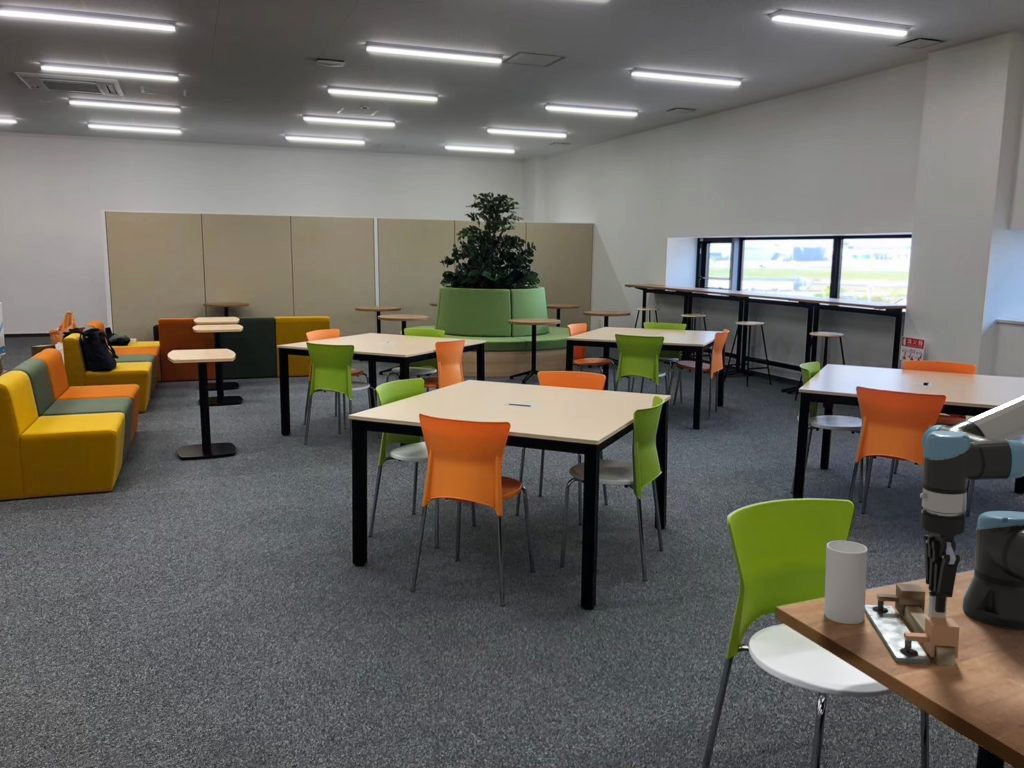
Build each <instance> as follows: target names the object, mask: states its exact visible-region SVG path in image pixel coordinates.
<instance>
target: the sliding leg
mask: <svg viewBox="0 0 1024 768" xmlns="http://www.w3.org/2000/svg"><path fill="white" fill-rule="evenodd" d="M904 638H905V649H908V650H910V649H911V646H912V641H917V642H921V643H922V642H924V645H923V648H924V650H925V651H926V652H927V654H928V655H929V656H930V658H933V657H934V652H935V646H952V647H953V648H954V650H955V651H956V655H955V660H956V659H958V658H959V640H960V626H959V625H958V624H957V623H956V622H955V620H954V619H953V618H951V617H949V618H948V617H946V618H935V617H926V619H925V633H914V632H911V633H908V632H904Z"/></svg>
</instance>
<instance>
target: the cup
mask: <svg viewBox="0 0 1024 768" xmlns="http://www.w3.org/2000/svg"><path fill="white" fill-rule="evenodd" d="M825 549H826V551H825V552H826V555H825V580H824V583H825V585H824V606H823V607H824V609H823V611H824V612H823V613H824V616H825V618H826V619H828V620H830V621H833V622H835V623H839V624H846V625H857V624H861V623H863V622H864V621H865V616H866V613H865V605H866V595H867V594H866V590H867V569H868V568H867V566H868V547H867V546H865V545H864V544H862V543H859V542H856V541H850V540H831V541H829V542H827V543H826V548H825Z"/></svg>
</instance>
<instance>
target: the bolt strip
mask: <svg viewBox="0 0 1024 768" xmlns="http://www.w3.org/2000/svg"><path fill="white" fill-rule="evenodd" d="M877 607H878V604H877V605H876V604H865V616H867V618H868V619H869V621H870V622H871V624H872V626H873V628H874V629H875V630H876V632H877V633H878V636H879V637H880V638H881V640H882V642H883V643H884V644H885V647H886V648H887V650H888V651H889V653H890V654H891V656H892V658H893V659H894V660H895V662H896V663H901V664H903V663H904V664H916V665H918V664H919V665H930V663H931V659H930V658H929V656H928V655H927V654H926V652H925V651H924V649H923V648H922V646H921V645H920V643H919V641H912V646H911V649H910V650H908V649H905V638H904V632H908V633H912V632H911V631H910V630H909V628H908V627H907V625H906V624H905V623H904V622H903V620H902V618H901V617H900V615H898V614H899V613H898V612H896V609H894V607H893V606H892V605H884V607H883V610H878V609H877Z"/></svg>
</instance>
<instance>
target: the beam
mask: <svg viewBox="0 0 1024 768" xmlns="http://www.w3.org/2000/svg"><path fill="white" fill-rule="evenodd" d="M901 616H902V618H903V617H904V618H903V619H904V620H905V622H906V621H907V622H906V623H907V624H908V626H909V627H910V629H911V630H912V632H913V633H925V619H926V617H928V614H926V612H925V610H924V611H923V610H922V609H921V607H920V606H919V605H904V614H903V615H901ZM921 644H922V645H923V646H924V642H921ZM955 655H956V651H955V650H954V648H953V647H952V646H935V652H934V657H932V659H933V661H934V662H935V663H936V664H937V665H938V666H947V667H948V666H951V667H955V666H956V658H955Z"/></svg>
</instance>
